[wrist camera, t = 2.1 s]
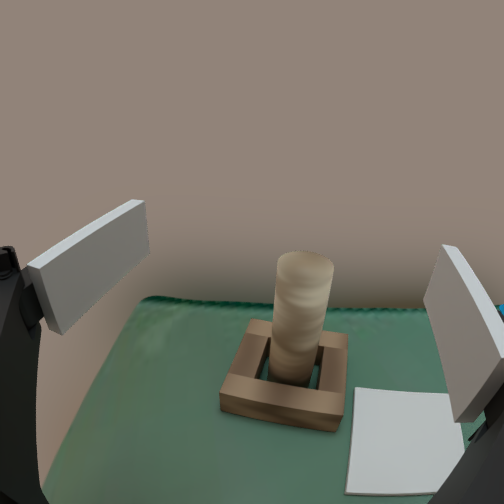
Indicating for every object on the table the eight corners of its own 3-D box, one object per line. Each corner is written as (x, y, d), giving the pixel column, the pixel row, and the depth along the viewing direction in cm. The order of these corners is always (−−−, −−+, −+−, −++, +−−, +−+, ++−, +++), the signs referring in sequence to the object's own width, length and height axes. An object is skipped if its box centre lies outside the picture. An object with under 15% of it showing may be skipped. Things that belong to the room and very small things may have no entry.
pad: (452, 397, 27) (454, 393, 26) (464, 490, 16) (468, 487, 16) (353, 390, 29) (355, 387, 29) (344, 494, 19) (346, 492, 19)
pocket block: (342, 353, 34) (348, 334, 33) (335, 432, 25) (343, 415, 23) (250, 337, 37) (251, 318, 35) (220, 410, 27) (219, 392, 26)
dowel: (311, 369, 32) (334, 255, 26) (306, 400, 28) (333, 283, 22) (271, 362, 33) (282, 247, 27) (262, 392, 29) (272, 274, 23)
